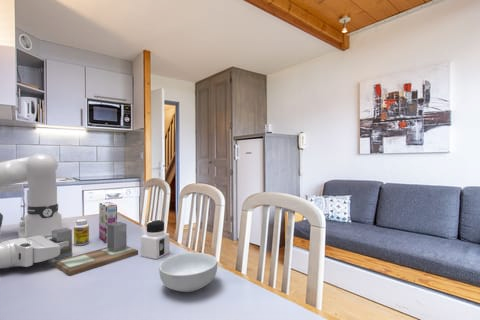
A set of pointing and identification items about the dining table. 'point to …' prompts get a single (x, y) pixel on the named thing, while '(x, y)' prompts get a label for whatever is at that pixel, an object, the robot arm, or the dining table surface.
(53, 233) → the loose billet
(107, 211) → the candy bar box
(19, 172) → the robot arm
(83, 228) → the supplement bottle
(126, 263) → the dining table surface
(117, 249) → the billet
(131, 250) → the wooden board
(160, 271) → the cereal bowl
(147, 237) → the container
